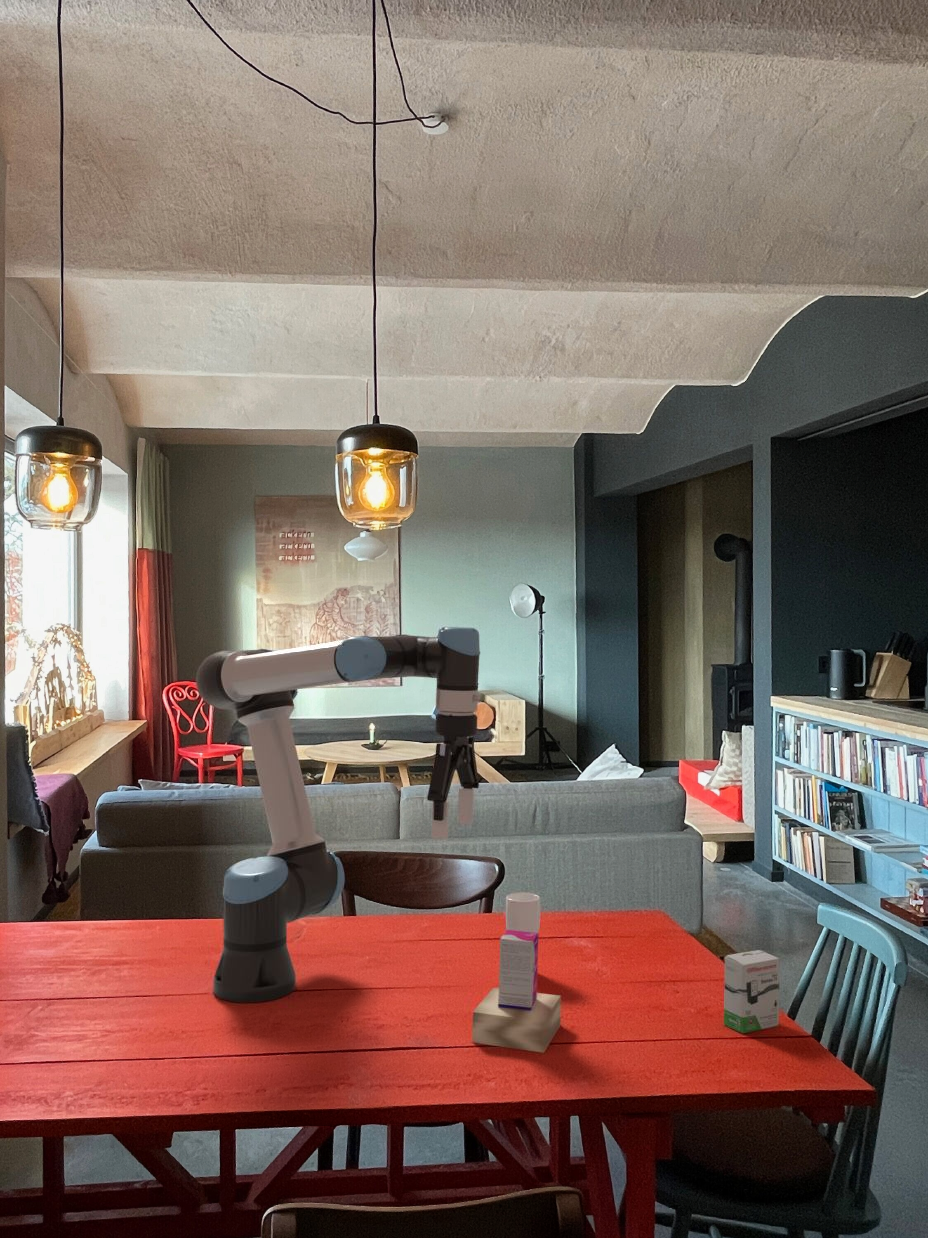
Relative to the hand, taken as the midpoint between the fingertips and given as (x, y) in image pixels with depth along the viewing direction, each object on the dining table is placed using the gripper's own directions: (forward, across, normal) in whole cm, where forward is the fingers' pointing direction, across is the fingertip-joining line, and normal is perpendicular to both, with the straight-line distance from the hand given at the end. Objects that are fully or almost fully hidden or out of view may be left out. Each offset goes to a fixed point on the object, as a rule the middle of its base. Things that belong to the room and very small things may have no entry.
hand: (452, 831), depth 187 cm
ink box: (+30, +9, -52) cm, 61 cm away
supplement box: (+26, -8, -16) cm, 31 cm away
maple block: (+31, -8, -16) cm, 36 cm away
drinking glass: (+31, +20, -8) cm, 38 cm away
